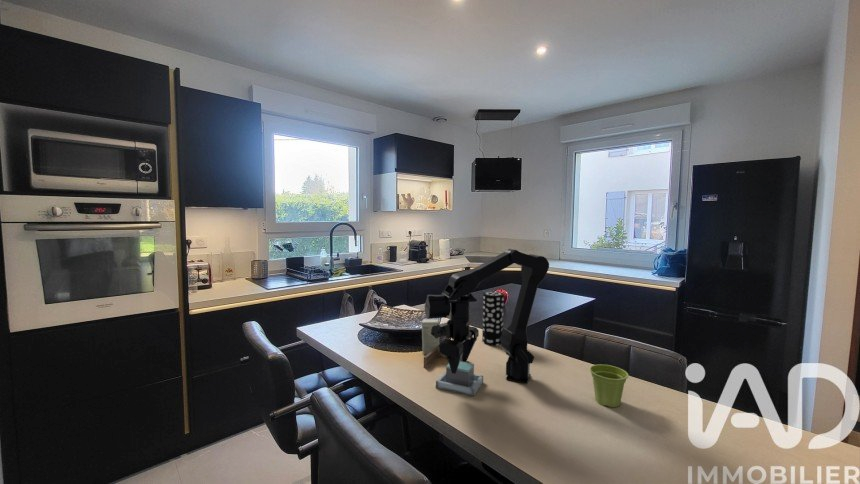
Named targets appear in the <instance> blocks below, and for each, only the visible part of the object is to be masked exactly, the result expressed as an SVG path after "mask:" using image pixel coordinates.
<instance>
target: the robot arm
mask: <svg viewBox="0 0 860 484" xmlns="http://www.w3.org/2000/svg"><path fill="white" fill-rule="evenodd" d="M514 264H515V265H518V266H521V267H520V274H521V279H522V282H521V285H520V289H519V293H518V297H517V299H516V300H517V301H516V303H515V304H516V305H515V308H514V312H513V316H512V319H511V323H510V325H509V326H508V327H507V328H505V327H503V329H502V335H501V337H500V339H499V340H501V343H500V344H501V345H500V346H501V349H502V350H504V352H505V354H506V355H507V356H508V358H507V360H506V362H505V364H506V365H505V375H506V377H505V380H507V381H512V382H517V383H522V384H528V382H529V381H530V378H531V372H530V367H531V366H530V365H531V364H533V362H534V360H535V356H534V355H533V354H532V353H531V352H530V351H529V350H528V341H529V340H528V334H527V327H528V324H529V320H530V316H531V313H532V309H533V305H534V303H535V302H534V301H535V298H536V294H537V290H538V287H539V285H540V284H541V283H542V282H543V280H544V279H545V278H546V275H547V273H548V271H549V269H550V262H549V261H548V259H547V257H545V256H543V255H537V254H532V253H531V254H527V253H523V252H522V251H521V252H520V251H519V250H517V249H512V248H508V249H506V250H505V251H503V252H501V253H500V254H498V255H495V256H494V257H492V258H491V259H488V260H486V261H485V262H483V263H481V264H480V265H478V266H476V267H474V268H471V269H466V270H463V271H459V272H456V273H453V274H452V275H450V277H449V279H448V284H447V285H446V287H445V288H444V289H443V291H442V292H441V294H427V295H426V300H425V303H424V313H425V319H441V318H442V319H443V318H444V319H445V318H447V317H448V316H449V317H450V318H449V319H448V320H447V322H443V323H439V324H437V325H434V326H432V329H431V335H433V336H434V337H435V339H436V338H438V337H439V338H440V337H446V338H445V339H444V340H443V341H442V342H441V343H440V342H439V345H438V352H439V353H441V354H443V355H445V356H446V357H447V358H446V357H445V358H446V359H447V362H448V364H449V365H450V368H451V372H452V373H453V374H455V373H456V371H457V369H458V366H459V363H460V360H461V358H462V359H463V362H466V363H467V362H468V359H469V357H470V355H471V353H472V350H473V348H474V346H475V344H476V341H478V337H479V335H480V334H479V329H478V328H477V326H476V327H475V326H470V325H471V323H472V320H473V319H472V318H471V315H470V314H471V311H470V310H471V306H470V305H471V303H475V302H477V301H478V300H477V298H476V297H474V295H473V294H472V292H473V291H474V290H475V289H477V288H478V287H479V285H480V284H481V283H482V282H483V281H484V280H487V279H488V278H490V277H492V276H493V275H496V274H498V273H499V272H501V271H502V270H504V269H507V268H508V267H510V266H511V265H514Z"/></svg>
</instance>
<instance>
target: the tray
mask: <svg viewBox="0 0 860 484" xmlns="http://www.w3.org/2000/svg"><path fill="white" fill-rule="evenodd" d="M483 383H484V375H481V374H476V373H474V382H473V383H472V385H471V386H470V387H466V386H461V385H457V384H452V383H448V382H446V371H445V372H443V373H442V375H441V376H440V377H438V378H437V380H436V381H435V388H436V389H440V390H442V391H443V390H444V391H446V392H447V391H448V392H452V393H458V394H461V395H466V396H470V397H475V395H476V393H477V392H478V390H479V389H480V388H481V386H482V385H483Z"/></svg>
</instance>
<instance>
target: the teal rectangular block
mask: <svg viewBox="0 0 860 484" xmlns="http://www.w3.org/2000/svg"><path fill="white" fill-rule="evenodd" d="M474 365H475V364H474V363H470V362H467V361H466V362H461V361H460V363H459V366H458V369H457V371H456V373H455V374H453V373H452V372H451V368H450V365H449V363H448V364H447V365H446V366H445V372H446V382H448V383H452V384H457V385H461V386H466V387H470V386H471V385H472V383H473V382H474V374H475V373H474V372H475V367H474Z"/></svg>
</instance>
